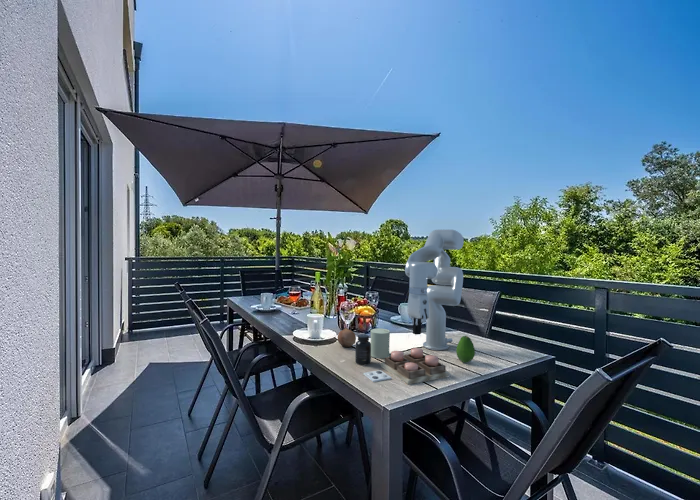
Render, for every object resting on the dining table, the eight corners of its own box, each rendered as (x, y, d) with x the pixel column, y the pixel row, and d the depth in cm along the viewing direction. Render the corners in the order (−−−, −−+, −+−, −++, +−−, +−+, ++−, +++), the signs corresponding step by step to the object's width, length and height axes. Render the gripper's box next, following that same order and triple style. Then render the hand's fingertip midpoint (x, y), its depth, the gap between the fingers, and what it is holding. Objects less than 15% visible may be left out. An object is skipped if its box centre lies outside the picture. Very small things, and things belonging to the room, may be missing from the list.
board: (419, 360, 154) (419, 351, 154) (449, 376, 136) (449, 366, 136) (380, 366, 145) (381, 357, 145) (407, 384, 127) (408, 373, 127)
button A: (418, 353, 150) (418, 347, 150) (425, 356, 146) (425, 350, 146) (408, 354, 148) (408, 348, 148) (415, 358, 144) (415, 352, 143)
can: (388, 359, 155) (389, 333, 154) (368, 357, 156) (369, 331, 156) (390, 352, 164) (390, 328, 163) (371, 351, 165) (371, 326, 165)
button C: (399, 356, 146) (399, 350, 146) (406, 360, 141) (406, 353, 141) (388, 357, 144) (388, 351, 144) (395, 361, 139) (395, 355, 139)
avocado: (457, 364, 149) (458, 337, 149) (454, 358, 157) (455, 332, 156) (476, 365, 148) (477, 338, 148) (472, 359, 156) (473, 333, 155)
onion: (344, 350, 176) (343, 330, 180) (359, 347, 172) (358, 328, 176) (333, 347, 169) (333, 327, 173) (350, 345, 164) (349, 324, 169)
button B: (432, 360, 141) (432, 354, 141) (440, 364, 137) (441, 358, 137) (422, 362, 139) (422, 356, 139) (430, 366, 134) (430, 360, 134)
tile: (380, 371, 139) (380, 369, 139) (391, 378, 132) (391, 376, 132) (363, 374, 136) (363, 372, 136) (373, 382, 129) (373, 380, 129)
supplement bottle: (354, 360, 153) (355, 333, 152) (369, 359, 153) (370, 333, 153) (356, 365, 146) (356, 337, 145) (371, 365, 146) (372, 337, 146)
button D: (412, 368, 137) (412, 361, 137) (420, 372, 132) (420, 366, 132) (401, 369, 135) (402, 363, 135) (409, 374, 130) (409, 367, 130)
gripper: (436, 293, 141) (435, 337, 141) (414, 289, 155) (413, 329, 155) (421, 293, 138) (420, 339, 138) (401, 289, 151) (399, 330, 151)
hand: (416, 333), depth 146 cm, fingers closed
